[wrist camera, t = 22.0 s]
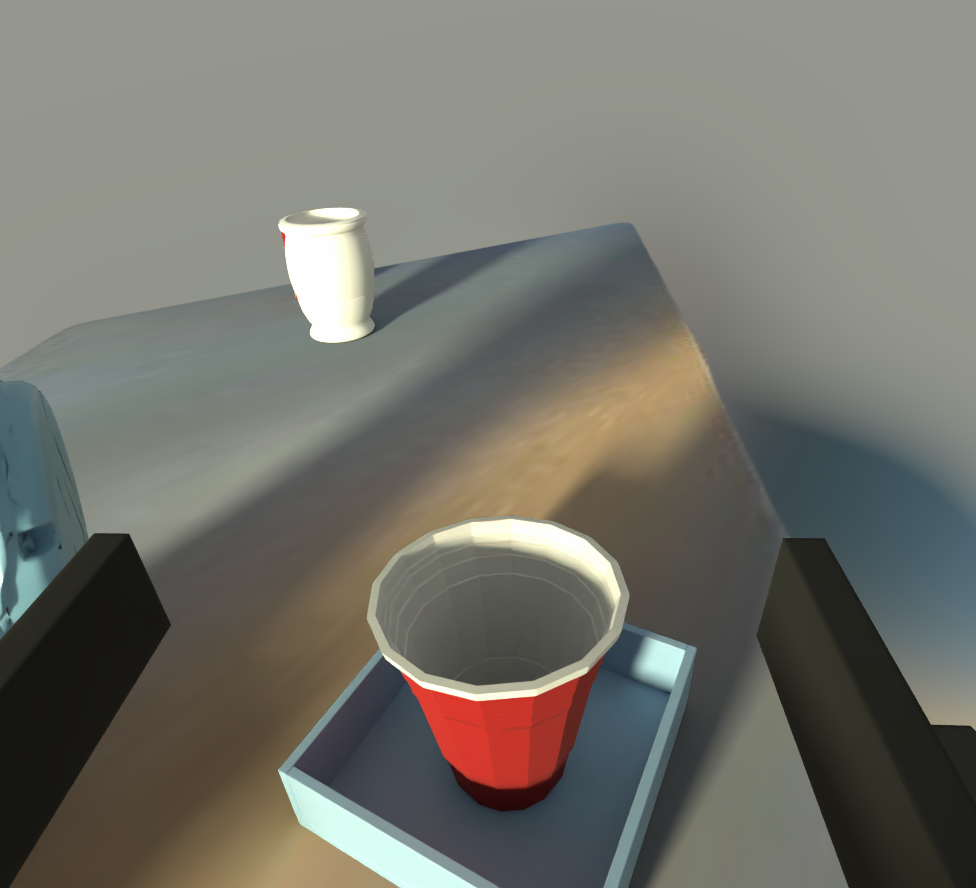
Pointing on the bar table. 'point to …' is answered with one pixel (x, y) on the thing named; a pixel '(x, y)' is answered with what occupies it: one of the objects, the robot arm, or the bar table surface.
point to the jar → (331, 271)
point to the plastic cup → (501, 645)
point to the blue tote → (476, 828)
